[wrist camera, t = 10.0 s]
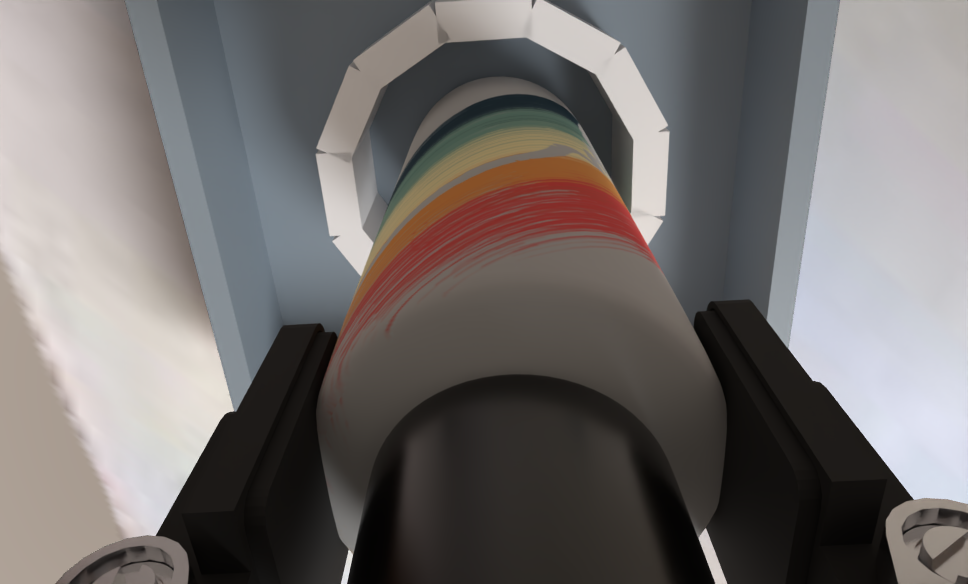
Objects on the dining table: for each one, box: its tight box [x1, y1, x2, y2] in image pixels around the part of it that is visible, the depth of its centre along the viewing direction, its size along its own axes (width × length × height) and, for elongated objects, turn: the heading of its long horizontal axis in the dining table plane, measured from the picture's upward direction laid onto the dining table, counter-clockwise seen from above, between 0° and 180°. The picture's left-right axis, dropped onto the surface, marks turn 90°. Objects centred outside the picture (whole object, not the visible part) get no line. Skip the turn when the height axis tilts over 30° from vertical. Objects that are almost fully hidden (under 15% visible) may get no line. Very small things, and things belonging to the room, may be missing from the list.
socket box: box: [125, 0, 840, 412], centre depth 22 cm, size 18×18×5 cm
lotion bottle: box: [316, 76, 727, 584], centre depth 14 cm, size 6×6×20 cm
